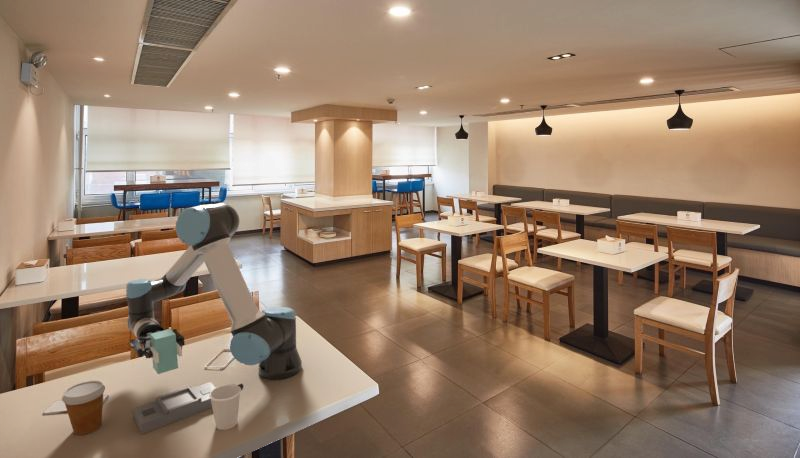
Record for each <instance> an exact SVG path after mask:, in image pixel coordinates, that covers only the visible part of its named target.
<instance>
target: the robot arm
mask: <svg viewBox="0 0 800 458" xmlns="http://www.w3.org/2000/svg"><path fill="white" fill-rule="evenodd" d="M239 226H240V216H239V214H238V211H237V210H236V209H235V208H233V206H231V205H229V204H227V203H223V202H221V203H220V202H217V203H214V204H213V203H211V204H201V205H195V206H192V207H187V208H185V209H183V210H182V211H181V212H180V213H179V214H178V216H177V220H176V221H175V232H176V236H177V238H178V239H179V240H180V241H181V242H182V243H183V244H185V245H188V248H186V250H185V251H184V252H183V253H182V254H181V255H180V257H179V258H178V259H177V260H176V261H175V262H174V263H173V265H172V266H171V267H170V268H169V269H168V270H167V272H166V273H165V274H164V275H163V276H162V277H161V278H159V279H156V280H153V281H151V279H148V278H147V279H146V278H139V279H134V280H130V281H129V282H128V283H127V284H126V291H125V295H126V300H127V307H128V308H127V309H128V314H127V315H128V318H127V319H126V320H127V321H126V323H127V327H128V329H129V331H131V332H132V334H133V335H134V336H135V337H136V339H135V338H132V339H130V340H129V343H130V349H133V350H134V353H135V354H136V355H137V357H138V358H142V357H143V356H145V359H152V358H153V359H152V361H153V360H154V361H155V362H156V363H159V354H158V353H157V351H156V350H155V349H154V348H153V347H151V336H150V334H152V333H156V332H160V331H164V330H165V329H164V327H163V326H162V325H161V324H160V323H159V322H158V321H157V320H156V319H155V311H154V308H155V307H154V303H157V302H159V301H162V300H165V299H167V298H170V297H172V296H176V295H179V294H180V293H182V292H183V291H184V290H185V289H186V286H187V282H188V280H190V278H191V277H193V275H194V274H195V273H196V272H197V270H199V269H200V267H202V265H203V264H205V266H206V268H207V270H208V272H209V275H210V277H211V279H212V281H213V284H214V286H215V288H216V290H217V292H218V294H219V297H220V299H221V301H222V304H223V306H224V308H225V310H226V312H227V315H228V316H229V318H230V321H231V326H230V329H229V330H230V333H231V336H232V338H231V340H230V343H229V349H230V351H229V352H230V353H231V355H232V357H234V359H235V360H236V361H237V362H239V363H240V364H243V365H245V366H255V365H258V374H259V376H260V377H262V378H264V379H267V380H283V379H284V380H285V379H288V378H290V377H293V376H296V375H297V374H299V373H300V372H301V370H302V368H303V363H302V359H301V356H300V353H299V350H298V348H297V318H296V312H295V310H294V309H292V308H291V307H286V306H270V307H267V308H264V309H262V310H261V311H259V309H258V307H257V305H256V302H255V300H254V298H253V296H252V294H251V291H250V290H249V287H248V285H247V283H246V281H245V278H244V276H243V273H242V272H241V269H240V267H239V265H238V263H237V261H236V259H235V255H234V254H233V253H232V250H231V248H230V245H229V243H230V241H231V238H233V236H234V235H235V234H236V232H237V230H238V228H239ZM172 331H173V332H174V333H175V334H176V347H177V356H178V357H183V346H185V345H186V344H185V337H184V336H183V335H182V334H181V333H180V332H179V331H178V329H177V328H174V329H172ZM142 345H143V346H144V348H143V347H142Z"/></svg>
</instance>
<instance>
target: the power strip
mask: <svg viewBox="0 0 800 458" xmlns="http://www.w3.org/2000/svg"><path fill="white" fill-rule="evenodd" d="M236 385H237V386H239V387H240V388H241V389H242V388H243V387H244V383H239V384H236ZM215 388H217V387H216V386H215V385H214V384H213V383H212V382H211V381H208V382H206V383H203V384H201V385H198V386H194V387H193V386H186V387H183V388H180V389H176V390H174V391H171V392H168V393H165V394H162V395H159V396H158V397H156V398H155V400H154V401H151V402H148V403H146V404H142V405H140V406H137V407H133V408H131V409H132V418H133V420H134V422H135V424H136V426H137V428H138V429H139V431H140V433H141V435H145V434H147V433H149V432H152V431H154V430H157V429H159V428H162V427H164V426H167V425H169V424H172V423H175V422H177V421H180V420H183V419H186V418H188V417H190V416H193V415H196V414H198V413H200V412H203V411H206V410H208V409H211V408H212V404H211V399H210V397H209V394H210V392H211V391H212V390H213V389H215Z"/></svg>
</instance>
